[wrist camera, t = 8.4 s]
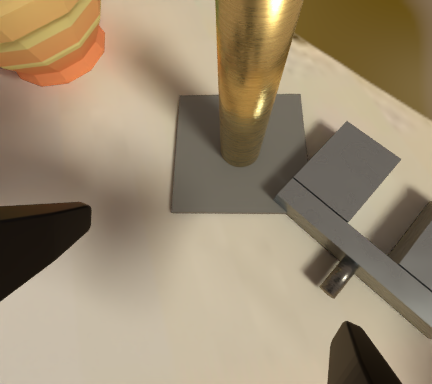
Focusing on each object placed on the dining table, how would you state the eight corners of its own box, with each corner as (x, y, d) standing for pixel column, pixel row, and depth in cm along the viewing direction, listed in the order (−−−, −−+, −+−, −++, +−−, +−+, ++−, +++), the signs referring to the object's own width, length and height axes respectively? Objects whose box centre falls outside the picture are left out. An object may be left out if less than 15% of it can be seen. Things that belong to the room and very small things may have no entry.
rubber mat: (172, 213, 18) (171, 211, 18) (180, 98, 21) (179, 95, 21) (311, 213, 18) (313, 212, 17) (298, 97, 21) (300, 94, 20)
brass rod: (228, 172, 18) (234, -36, 6) (215, 138, 19) (198, -101, 7) (265, 160, 19) (346, -65, 6) (251, 127, 19) (297, -124, 7)
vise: (406, 370, 15) (430, 383, 13) (250, 225, 18) (252, 220, 16) (489, 246, 16) (520, 242, 15) (336, 134, 19) (346, 121, 18)
